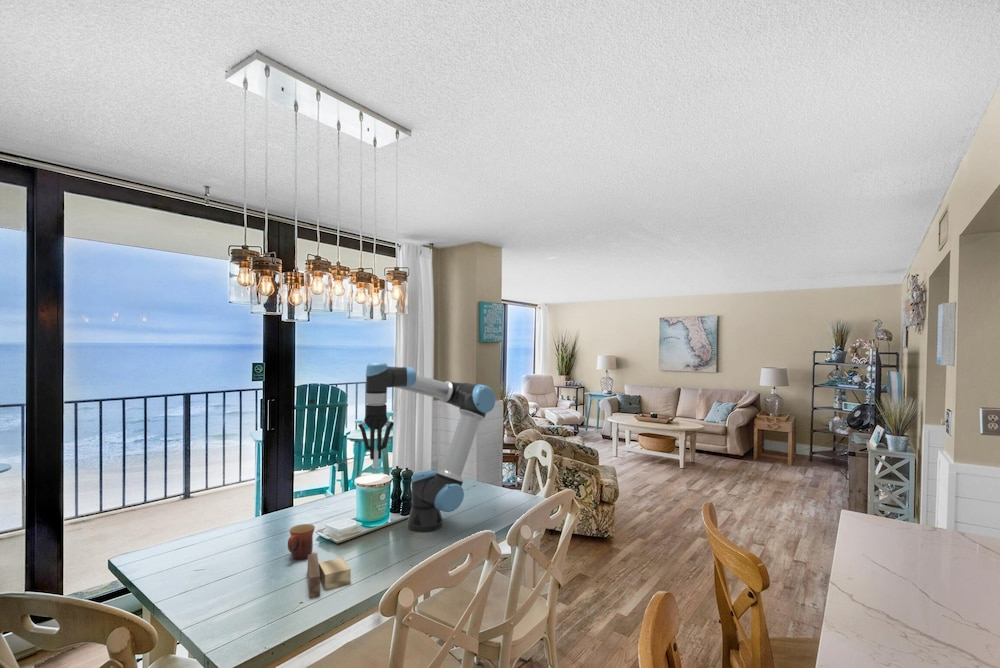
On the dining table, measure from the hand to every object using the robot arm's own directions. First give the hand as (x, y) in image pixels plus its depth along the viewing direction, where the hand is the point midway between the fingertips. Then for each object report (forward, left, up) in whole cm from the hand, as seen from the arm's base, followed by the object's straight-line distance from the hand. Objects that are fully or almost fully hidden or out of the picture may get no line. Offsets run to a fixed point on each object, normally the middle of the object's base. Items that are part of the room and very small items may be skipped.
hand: (375, 467), depth 178 cm
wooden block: (+22, +13, -32) cm, 41 cm away
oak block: (+15, +13, -33) cm, 38 cm away
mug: (+26, -9, -33) cm, 42 cm away
